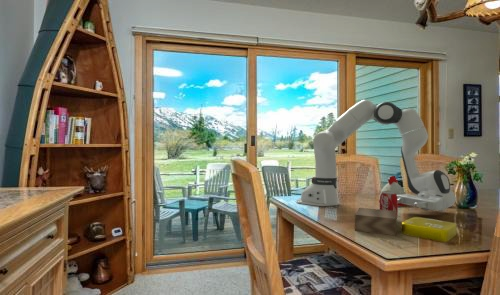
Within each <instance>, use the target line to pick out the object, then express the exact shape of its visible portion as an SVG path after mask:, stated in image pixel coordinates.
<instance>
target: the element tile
mask: <svg viewBox="0 0 500 295" xmlns="http://www.w3.org/2000/svg"><path fill="white" fill-rule="evenodd" d="M400 229H401V231H400V232H401V234H403V235H406V236H410V237H411V236H412V237H415V236H416V238H420V237H421V238H420V239H426V240H430V239H431V240H430V241H437V242H440V243H441V242H442V243H447V242H449V241H450V240H452V239H453V238H454V237H456V236H457V223H455V222H451V221H445V220H440V219H439V220H438V219H433V218H426V217H421V216H413V217H411V218H409V219H406V220H404V221H402V222H401V228H400Z"/></svg>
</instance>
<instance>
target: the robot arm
mask: <svg viewBox="0 0 500 295" xmlns="http://www.w3.org/2000/svg"><path fill="white" fill-rule="evenodd" d="M371 120H373V121H375V122H377V123H378V124H380V125H385V126H388V125H390V124H393V125H395V126H396V127H397V129H398V130H399V134H400V135H401V139H402V145H401V148H400V154H401V158H402V159H401V160H402V163H403V166H404V170H405V171H404V172H405V174H406V182H407V183H406V184H407V188H408V189H409V190H410V192H412V193H413V194H407V193H406V194H401V195H397V197H398V203H402V204H407V205H406V206H411V207H412V206H413V207H415V208H420V210H422V211H427V212H428V211H436V212H437V211H438V212H445V211H446V209H447V208H450V207H451V206H453V205H454V204H455V203H456V200H457V199H456V198H457V196H456V194H455V192H454V191H453V190H452V189H451V182H450V179H449V177H448V176H447V174H446V173H445V172H443V171H441V170H440V169H436V170H431V171H426V172H423V173H420V172H419V171H418V166H417V163H416V154H417V152H418V151H419V150H421V149H422V148H423V147H424V146H425V145H426V143H428V142H427V141H428V138H429V134H428V131H427V128H426V126H425V124H424V121H423V120H422V118H421V117H420V115H419V113H418V112H417V111H416V110H415V109H413V108H404V109H401V107H398V106H397V105H396V104H394V103H393V102H390V101H384V102H381V103H379V104H375V103H373V102H372V101H371V100H369V99H362V100H360V101H358V102H357V103H355V104H354V105H352V106H351V107H350V108H349V109H348V110H346V111H344V113H343V114H341V115H340V116H339V117H338V118H336V119H335V120H334V122H333V123H331V125H330V126H329V127H327V129H326V130H322V131H319V132H317V133H316V134H315V135H314V136H313V139H312V140H313V141H312V143H313V153H314V154H313V155H314V161H315V168H314V169H315V174H314V177H312V178H311V184H309V185H308V186H307V187H305V188H303V190H302V192H301V196H300V198H297V200H296V203H297V204H302V205H309V206H310V205H311V206H318V207H329V206H330V207H331V206H338V205H339V204H340V202H339V197H338V177H337V157H336V149H337V148H338V147H339V146H340V145H342V143H344V142H345V141H346V140H347V139H348V138H350V136H351V135H353V134H354V133H356V131H358V130H359V129H360V128H361V127H362V126H364V125H365V124H367V123H368V122H369V121H371ZM414 194H415V195H414Z"/></svg>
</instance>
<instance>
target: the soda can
mask: <svg viewBox="0 0 500 295" xmlns="http://www.w3.org/2000/svg"><path fill="white" fill-rule="evenodd" d="M379 197H380V203H379V210H391V211H396V221H397V220H398V213H399V212H398V209H399V206H398V197H397V195H396V192H391V191H382V194H381V195H380V194H379Z"/></svg>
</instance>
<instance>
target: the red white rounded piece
mask: <svg viewBox="0 0 500 295" xmlns="http://www.w3.org/2000/svg"><path fill="white" fill-rule="evenodd" d="M387 180H388V183H386V184H385V185H384V186H383V187H382V189H380V190H379V196H378V203H379V204H380V195H381V194H382V191H391V192H396V195H401V194H407V192H406V191H404V188H403V187H402V186H401V185H400V184H399V183H398V179H397V177H395V175H391V176H389V178H388V179H387ZM404 206H408V205H407V204H402V203H398V207H404Z"/></svg>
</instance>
